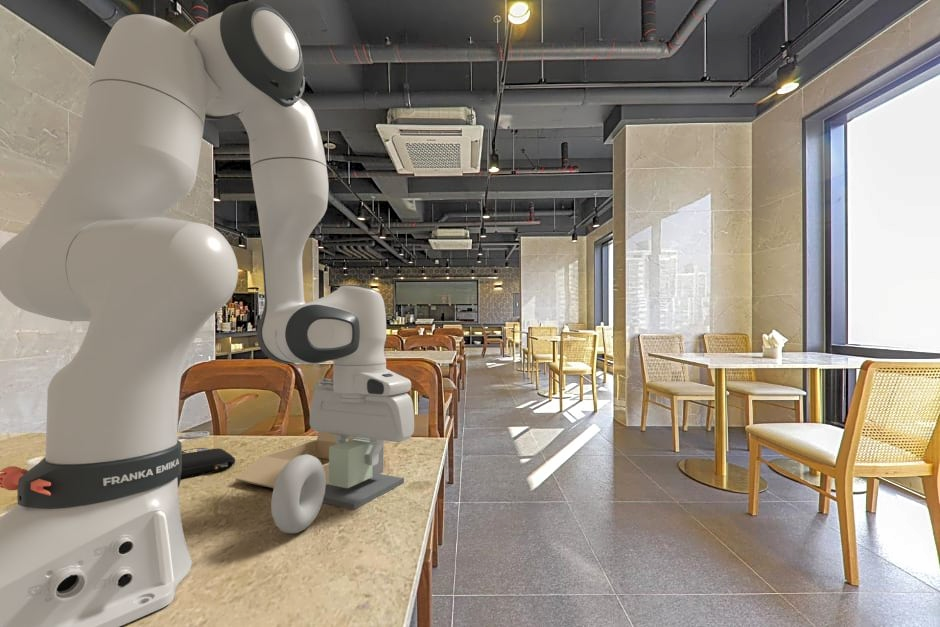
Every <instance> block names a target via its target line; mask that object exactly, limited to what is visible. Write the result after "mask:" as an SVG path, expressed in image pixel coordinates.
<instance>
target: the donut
mask: <svg viewBox="0 0 940 627" xmlns="http://www.w3.org/2000/svg"><path fill="white" fill-rule="evenodd" d="M323 465H324V464H322V462H321V461H320V459H319V458H318V457H314V456H312V455H308V454H306V455H300V456H297V457H295V458H294V459H292V460H291V461H290V462H288V463H287V464H286V466H285V467H284V468H283V470H282V471H281V472H280V474H279V476H278V478H277V480H276V483H275V486H274V488H273V491H272V494H271V495H272V496H271V504H270V506H271V508H270V509H271V516H272V519H273V521H274V524H275V526H276V527H277V528H278V529H279V530H281V531H282V533H284V534H285V533H286V534H298V533H300V532H303V531H305V530H307V528H308V527H309V526H310V525H311V524H312V523H313V522H314V521H315V519H316V518H317V516H318V515H319V513H320V510H321V507H322V505H323V504H324V503H323V499H324V495H325V488H326V475H325V471H324V467H323Z"/></svg>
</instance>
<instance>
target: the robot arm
mask: <svg viewBox="0 0 940 627" xmlns="http://www.w3.org/2000/svg"><path fill="white" fill-rule="evenodd" d="M105 38H106V39H105V41H104V43H103V44H102V46H101V49H100V51H99V54H98V56H97V58H96V61H95V64H94V67H93V70H92V72H91V75H90V76H91V77H90V81H89V83H88V84H89V85H88V90H87V93H86V94H87V95H86V98H85V103H84V108H83V112H82V117H81V121H80V126H79V129H78V134H77V138H76V141H75V146H74V147H73V151H72V153H71V157H69V158H70V159H69V160H68V163H67V164H66V167H65V168H64V171H63V172H62V174H61V176H60V177H59V180H57V183H56V184H55V185H54V188H53V189H52V191H51V192H50V193H49V195H48V196H47V198H46V200H45V202H44V203H43V205H41V208H40V209H39V210H38V212H37V213H36V215H34V217H33V219H32V220H31V221H30V222H29V223H28V224H27V226H25V227H24V228H23V229H22V230H21V231H20V232H19V233H17V234H16V235H14V236H13V237H12V238H11V239H8V241H6V242H5V243H4V244H3V245H2V246H1V247H0V292H1V294H2V295H3V296H4V297H5V299H7V301H9V302H10V303H11V304H13V305H14V306H16V307H17V308H19V309H21V310H24V311H25V312H29V313H33V314H36V315H39V316H42V317H46V318H51V319H55V320H58V321H65V322H89V324H88V328H87V331H86V332H85V333H86V334H85V336H84V338H83V341H82V343H81V345H80V347H79V349H78V351H77V352H76V354H75V356H74V357H73V358H72V359H71V361H70V362H69V363H68V364H67V365H65V366H64V367H62V368H61V369H59V370H58V371H57V372H56V373H55V375H54V376H52V378H51V380H50V381H49V384H48V388H47V401H46V404H47V405H46V426H45V427H46V431H45V432H46V433H45V434H46V435H45V440H46V441H45V456H44V457H43V459H41V460H40V461H38V463H36V464H35V465H34V466H33V467H31V468H30V469H29V470H27V469H25V468H21V467H19V466H14V465H13V466H7V467H5V468H3V469H1V470H0V488H2V489H5V490H7V491H17V497H16V498H17V505H15V506H13V507H12V508H11V509H10V510H9V511H7V512H6V513H5V514H4V515H2V516H0V627H121V626H124V625H126V624H129V623H131V622H133V621H136V620H138V619H140V618H143V617H145V616H147V615H149V614H151V613H154V612H156V611H159V610H160V609H163V608H165V607H166V606H168V605H170V604H171V603H172V601H173V600H174V599H175V595H176V588H177V586H178V585H179V584H180V582H182V580H183V579H184V578H185V577H186V576H187V575H188V573H190V571H191V568H192V564H193V561H192V557H191V554H190V552H189V549H188V544H187V543H186V542H187V541H186V539H185V534H184V529H183V523H182V516H181V508H180V507H181V506H180V497H179V487H180V484H181V480H182V479H181V473H182V451H183V449H182V441H180V439H178V430H179V429H178V428H179V427H178V426H179V411H180V410H179V407H180V406H179V405H180V391H181V380H182V376H183V370H184V367H185V364H186V361H187V357H188V355H189V354H190V353H189V352H190V350H191V348H192V346H193V343H194V341H195V340H196V337H197V336H198V335H199V333H200V331H201V330H202V328H203V327H204V325H205V324H206V323H207V321H209V320H210V318H211V317H212V316H214V315H215V313H216V312H218V311H219V310H220V309H222V308H223V307H224V306H226V304H227V303H228V302H229V301H230V300H231V298H232V296H233V295H234V292H235V290H236V287H237V283H238V278H239V266H238V260H237V257H236V254H235V252H234V249H233V247H232V246H231V244H230V242H229V241H228V240H227V239H226V237H225V236H224V235H223V234H222V233H221V232H219V231H218V230H217V229H216V228H214V227H212V226H210V225H208V224H205V223H201V222H195V221H189V220H184V219H179V218H178V219H177V218H172V217H165V216H166V215H167V213H168V212H169V211H170V210H171V209H172V208H173V207H174V206H176V204H178V203H180V202H181V201H182V200H184V199H185V198H186V197H187V196H188V195H190V193H191V192H192V190H193V188H194V186H195V183H196V182H197V177H198V176H197V174H198V169H199V163H200V155H201V147H202V143H203V137H204V136H203V135H204V130H205V129H204V127H205V120H206V121H217V120H223V119H226V118H228V117H229V116H231V115H233V114H237V113H238V114H237V117H239V119H240V121H241V123H242V124H243V125H242V126H244V129H245V131H246V133H247V136H248V140H249V141H248V142H249V143H248V144H249V145H248V146H249V159H250V161H249V162H250V169H251V175H252V176H251V178H252V184H253V191H254V197H255V203H256V208H257V215H258V216H257V217H258V224H259V225H258V226H259V232H260V239H261V242H260V243H261V258H262V260H261V261H262V274H263V276H262V277H263V278H262V279H263V290H264V292H263V294H264V304H263V310H262V314H261V317H260V319H259V323H258V326H257V331H256V336H257V338H256V339H257V343H258V346H259V348H260V350H261V352H262V353H263V354H264V355H265V356H266V358H267V357H268V359H269V360H271V361H273V362H275V363H278V364H283V365H284V364H285V365H289V364H300V365H301V364H302V365H306V364H307V365H317V364H318V365H319V364H323V363H325V362H328V361H329V362H330V361H333V362H332V363H333V365H332V366H333V368H332V369H333V370H332V372H333V375H332V378H330V379H329V378H327V377H326V378H325V377H324V378H320V379H319V380H318V381H317V382H316V384H314V386H313V396H312V399H311V405H310V412H309V427H310V428H311V430H312V431H313V432H318V433H319V432H325V433H333V434H335V441H336V444H340V443H343V442H346V441H347V438H349V436H355V437H362V438H370V445H373V447H372V449H371V451H370V453H368V454H365V459H366V460H365V464H367V465H372V466H374V465H376V464H378V462H379V452H380V451H381V449H382V447H383V448H384V446H383V445H385V442H386V441H387V442H395V443H401V442H404V441H407V440H409V439H411V437H412V436H413V434H414V432H415V413H414V412H415V411H414V402H413V399H412V397H411V395H410V394H408V392H411V390H412V382H411V380H410V379H409V378H408V377H405V376H403V375H401V374H398V373H396V372H393V371H391V370H390V369H388V368H387V358H386V355H385V344H386V341H387V314H386V306H385V301H384V298H383V296H382V294H381V293H380V292H378V291H377V290H376V289H373V288H371V287H367V286H363V285H357V284H356V285H355V284H344V285H341V286H339V287H338V288H337V289H336V290H334V291H333V292H331V293H329V294H328V295H324V296H322V297H320V298H318V299H317V298H316V300H312V301H309V302H305V292H304V274H303V271H304V270H303V253H304V250H305V249H304V248H305V245H306V243H307V241H308V239H309V237H310V235H311V234H312V232H313V230H314V229H315V228H316V226H317V225H318V224H319V223H320V221H321V220H322V218H323V217H324V216H325V214H326V211H328V210H327V209H328V202H329V201H328V200H329V192H330V191H329V186H330V185H329V176H328V168H327V159H326V154H325V147H324V144H323V140H322V136H321V131H320V127H319V125H318V120H317V118H316V116H315V112H314V111H313V109H312V107H311V106H310V105H309V104H308V103H307V102H306V101H305V100H304V99H303V98H302V96H303V95H304V94H303V93H304V92H305V88H306V86H305V85H306V80H305V79H306V78H305V76H304V73H305V72H304V71H305V67H304V60H303V52H302V48H301V45H300V42H299V39H298V36H297V35H296V33H295V31H294V29H293V28H292V26H291V25H290V23H289V22H288V21H287V20H286V18H284V16H282V15H281V14H280V13H279V12H278V11H277V10H276V9H274V8H273V7H272V6H271V5H269V4H267V3H265V2H263V1H259V0H249V1H241V2H238V3H237V2H236V3H234V4H231V5H230V4H229V6H227V7H226V8H225V9H224V10H223V11H221V12H219V13H216V14H214V15H212V16H210V17H208V18H206V19H204V20H203V21H200V22H198V23H196V24H195V25H193V26H192V27H191V28H189V29H188V30H186V32H185V31H184V30H182V29H181V28H179V27H178V26H176V25H175V24H173V23H171V22H169V21H167V20H165V19H163V18H160V17H157V16H155V15H150V14H144V13H143V14H141V13H139V14H137V13H135V14H130V15H129V14H128V15H125V16H123V17H121V18H120V19H118V20H117V21H116V22H115V24H114V25H113V26H112V27H111V29H110V32H109V33H108V34H107V36H106V37H105ZM297 94H298V96H297Z"/></svg>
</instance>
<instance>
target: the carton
mask: <svg viewBox="0 0 940 627" xmlns="http://www.w3.org/2000/svg"><path fill="white" fill-rule="evenodd" d="M355 438H357V437H355V436H349V438H347V441H349V440H352V439H355ZM334 445H337V444H336V441H335V434H333V433H325V432H318V435H317V437H316V439H314V440H311V441H307V442H304V443H301V444H298V445H297V444H296V445H295V446H294V445H293V446H290V447H287V448H285V449H281V450H280V449H279V450H278V451H274V452H270V453H267V454H263V455H261V456H259V458H258V459H256V460H255V461H254V462H253V463H252V464H251V465H249V466H248V467H247V468H246V469H245V470H243V471H242V472H241V473H240V474H239V475H238V476H236V477H235V480H236V481H238V482H239V481H240V482H243V483H248V484H252V485H257V486H261V487H267V488H271V489H274V486H275V483H276V480H277V478H278V476H279V474H280V472H281V471H282V470H283V468H284V467H285V466H286V464H287V463H288V462H290V461H291V460H292V459H294V458H295V457H297V456H300V455H306V454H308V455H312V456H314V457H316V458H318V459H319V458H320V459H326V460H329V447H331V446H334ZM322 465H323V467H324V471H325V475H326V485H327V484H329V462H327V463H324V464H322Z"/></svg>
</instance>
